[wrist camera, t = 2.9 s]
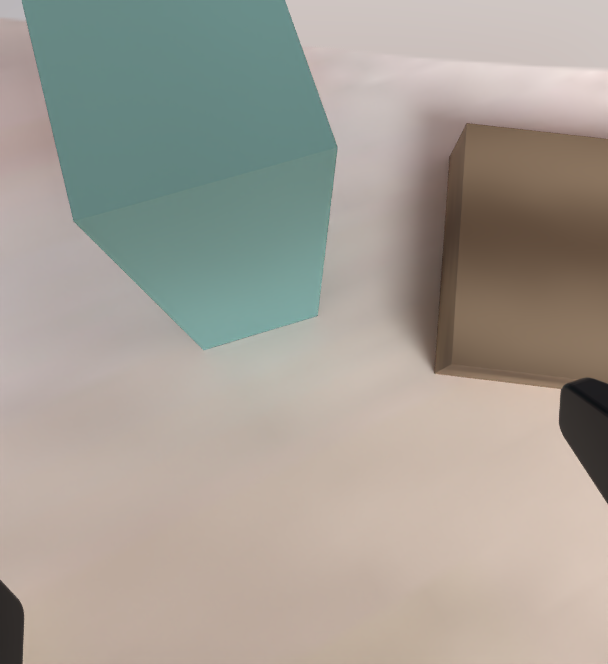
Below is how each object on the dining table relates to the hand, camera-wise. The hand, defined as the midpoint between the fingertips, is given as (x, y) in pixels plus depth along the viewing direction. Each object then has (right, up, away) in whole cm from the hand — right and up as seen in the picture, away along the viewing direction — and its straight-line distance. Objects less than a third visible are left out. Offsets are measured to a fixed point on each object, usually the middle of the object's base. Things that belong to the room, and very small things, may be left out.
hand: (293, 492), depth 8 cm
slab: (+11, +5, +15) cm, 20 cm away
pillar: (-2, +5, +15) cm, 16 cm away
